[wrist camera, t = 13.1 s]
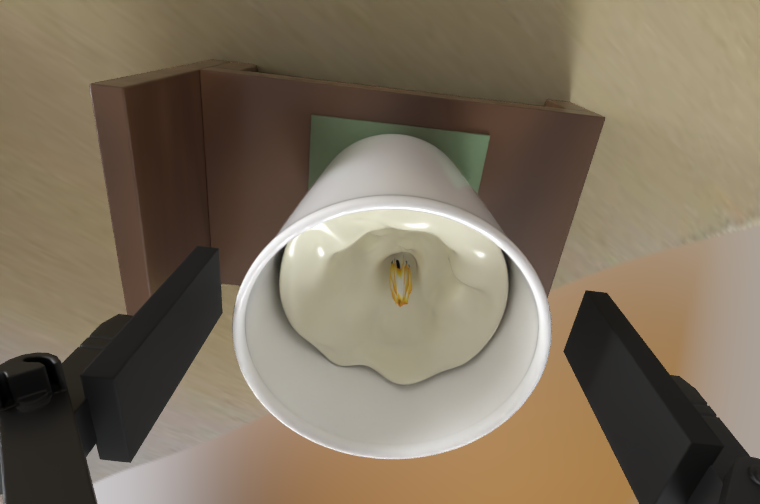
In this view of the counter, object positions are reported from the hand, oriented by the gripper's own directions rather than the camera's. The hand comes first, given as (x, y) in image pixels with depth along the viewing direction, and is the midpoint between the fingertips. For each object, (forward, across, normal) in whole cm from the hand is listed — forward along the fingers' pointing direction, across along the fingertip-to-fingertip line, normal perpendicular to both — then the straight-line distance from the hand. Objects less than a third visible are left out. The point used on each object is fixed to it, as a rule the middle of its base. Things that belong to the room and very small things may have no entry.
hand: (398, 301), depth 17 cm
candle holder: (+9, 0, 0) cm, 9 cm away
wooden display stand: (+14, 0, 0) cm, 14 cm away
